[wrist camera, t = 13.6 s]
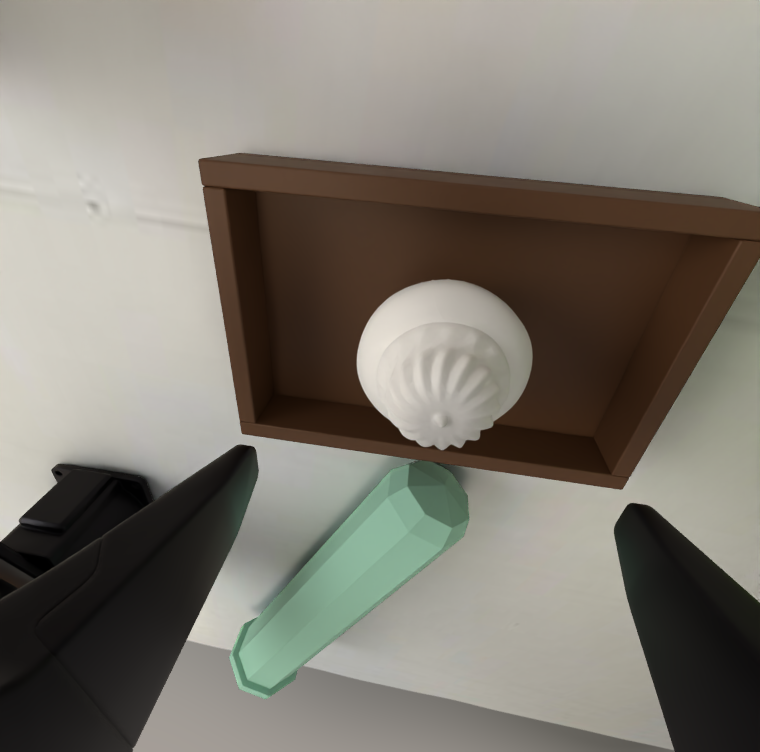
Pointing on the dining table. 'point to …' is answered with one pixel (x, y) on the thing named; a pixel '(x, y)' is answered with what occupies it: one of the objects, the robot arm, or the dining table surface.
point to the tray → (487, 270)
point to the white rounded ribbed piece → (444, 361)
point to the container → (352, 573)
